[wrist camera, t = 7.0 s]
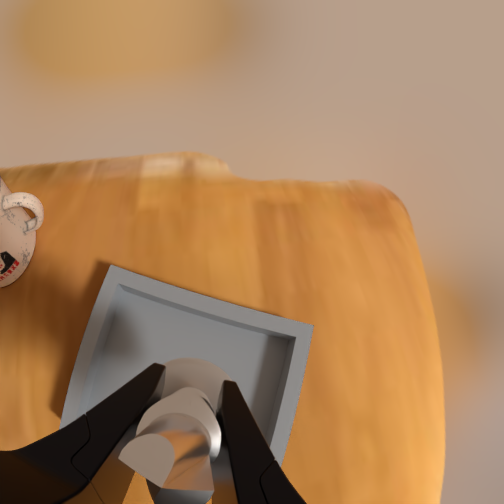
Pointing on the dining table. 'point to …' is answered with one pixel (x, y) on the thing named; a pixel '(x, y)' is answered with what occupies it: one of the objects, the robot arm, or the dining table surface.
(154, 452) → the screw
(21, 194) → the teacup with lid
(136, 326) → the tray
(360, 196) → the dining table surface
